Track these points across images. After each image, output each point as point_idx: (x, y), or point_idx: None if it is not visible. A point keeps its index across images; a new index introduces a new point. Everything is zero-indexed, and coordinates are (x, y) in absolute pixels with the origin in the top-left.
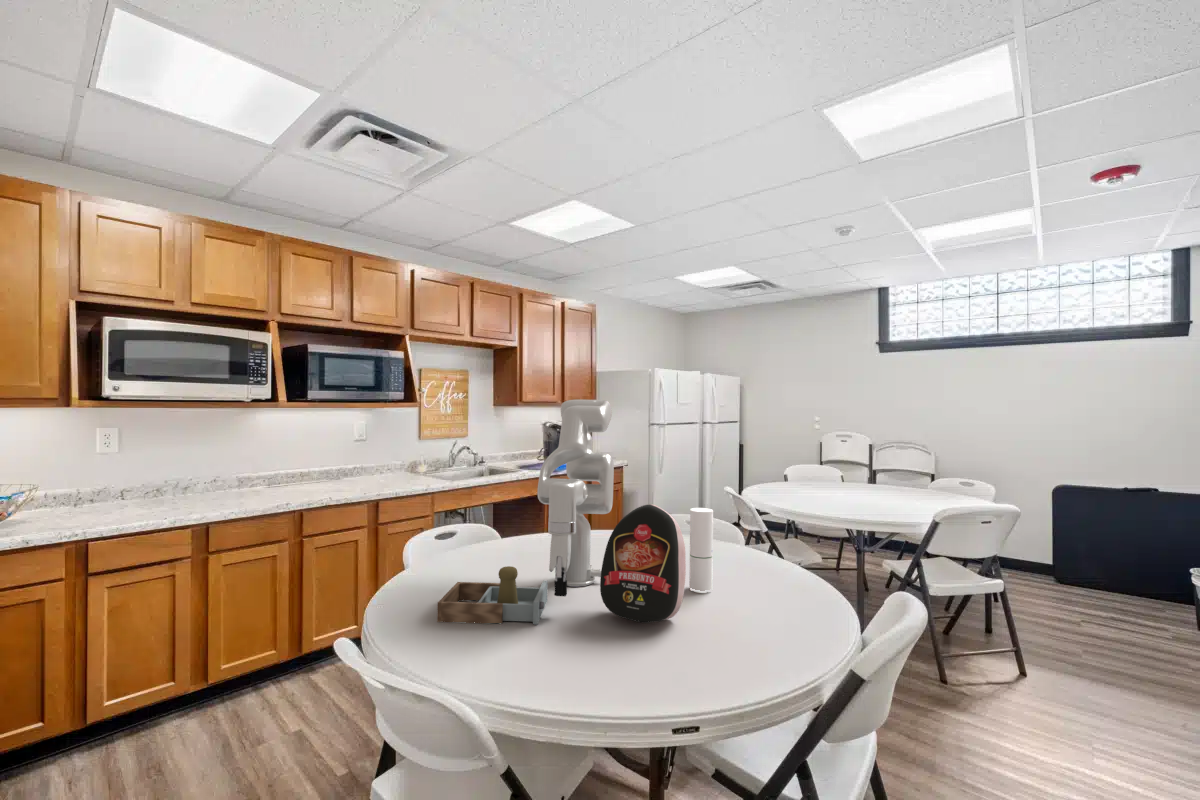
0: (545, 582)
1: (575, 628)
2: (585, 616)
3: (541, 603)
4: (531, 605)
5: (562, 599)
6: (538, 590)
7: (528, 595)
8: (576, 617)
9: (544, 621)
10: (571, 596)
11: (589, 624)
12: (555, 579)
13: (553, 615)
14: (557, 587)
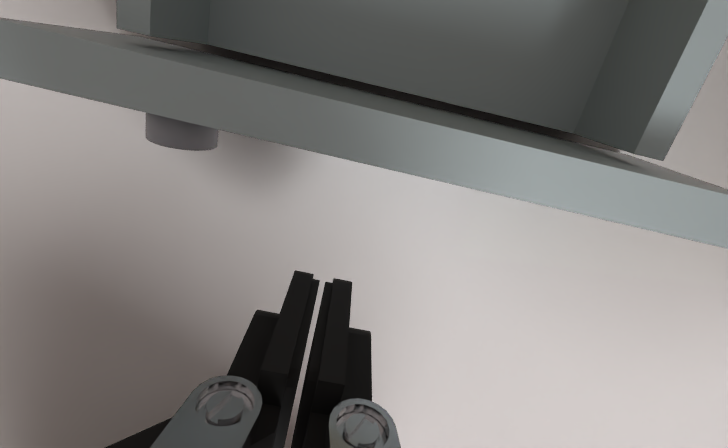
0: (685, 222)
1: (120, 297)
2: None
3: (148, 121)
4: (119, 5)
5: (609, 289)
6: (636, 122)
7: (649, 9)
8: None
9: None
10: (644, 347)
11: (179, 369)
12: (183, 404)
13: (326, 200)
14: (240, 345)
